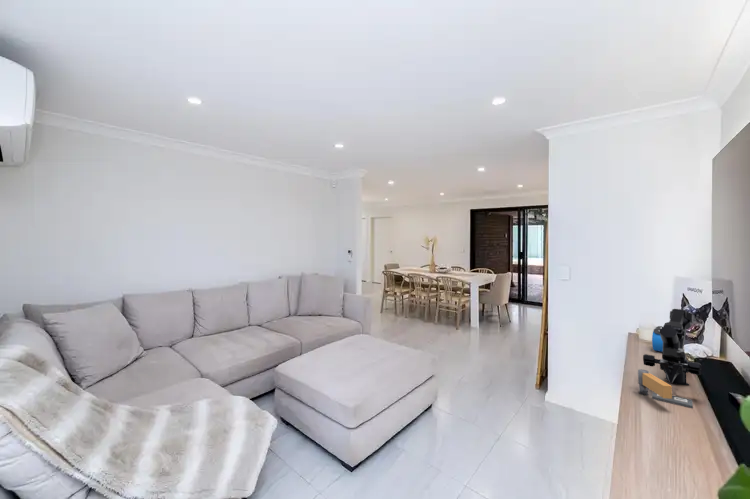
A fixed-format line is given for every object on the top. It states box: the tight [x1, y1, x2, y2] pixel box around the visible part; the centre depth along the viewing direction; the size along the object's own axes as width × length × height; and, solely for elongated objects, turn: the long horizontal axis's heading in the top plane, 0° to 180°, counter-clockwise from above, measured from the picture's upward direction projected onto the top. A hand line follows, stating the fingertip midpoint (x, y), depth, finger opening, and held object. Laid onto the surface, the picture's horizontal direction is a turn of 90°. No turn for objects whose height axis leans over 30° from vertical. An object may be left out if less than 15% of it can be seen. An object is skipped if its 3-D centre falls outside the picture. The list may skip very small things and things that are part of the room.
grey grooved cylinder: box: [638, 384, 649, 396], centre depth 144 cm, size 3×3×4 cm
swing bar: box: [637, 368, 673, 399], centre depth 137 cm, size 17×4×6 cm, turn 170°
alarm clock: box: [651, 325, 663, 353], centre depth 199 cm, size 13×6×15 cm, turn 131°
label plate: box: [651, 391, 694, 409], centre depth 137 cm, size 12×7×1 cm, turn 46°
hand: (670, 382), depth 138 cm, fingers closed
